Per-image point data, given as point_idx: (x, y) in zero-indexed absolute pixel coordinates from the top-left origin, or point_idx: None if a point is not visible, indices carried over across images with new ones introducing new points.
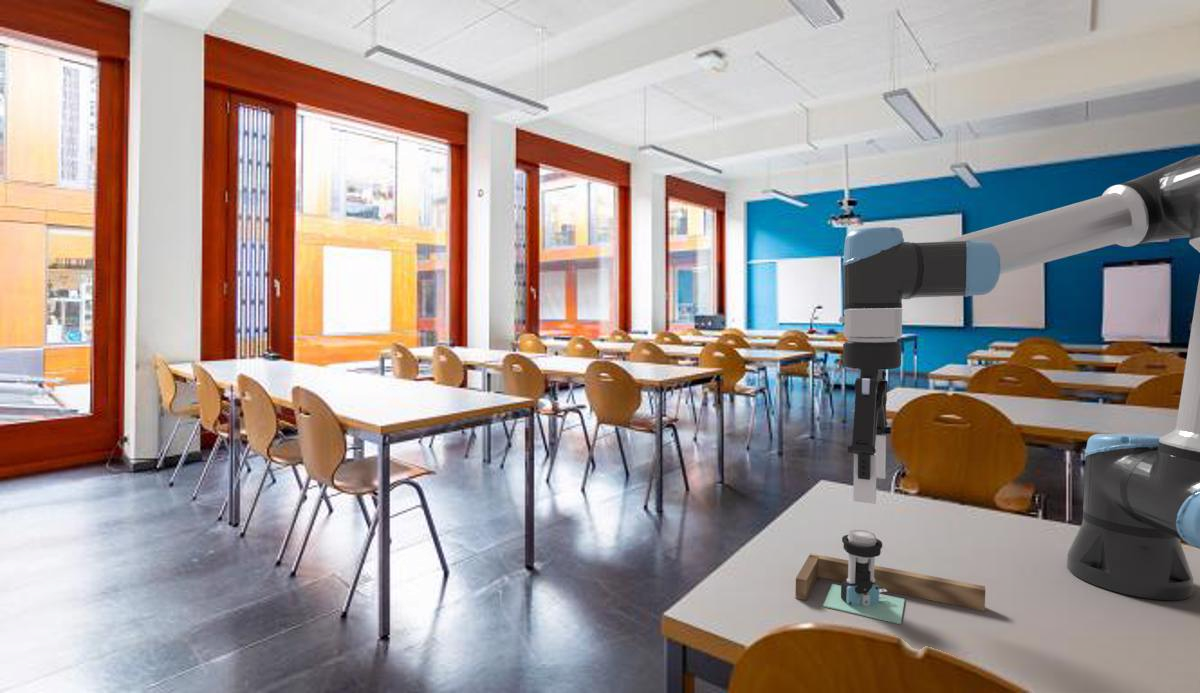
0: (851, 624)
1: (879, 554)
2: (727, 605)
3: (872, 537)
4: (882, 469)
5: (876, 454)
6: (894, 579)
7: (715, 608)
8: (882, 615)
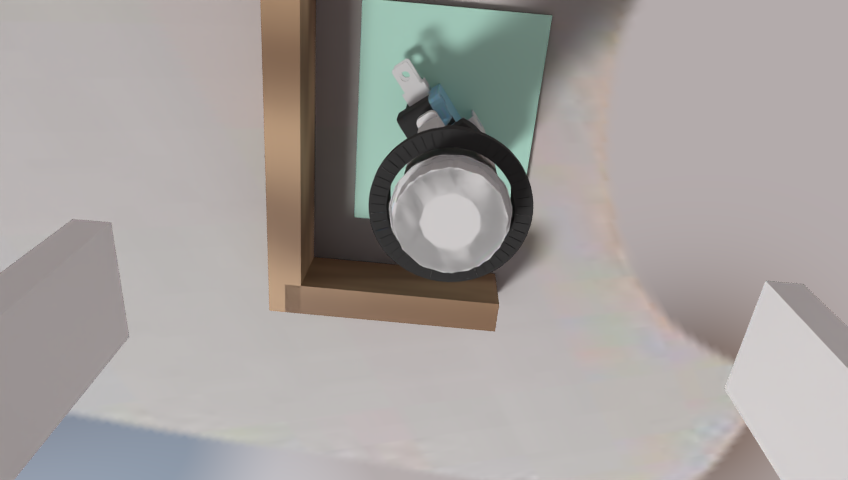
0: (599, 153)
1: (476, 129)
2: (595, 429)
3: (480, 181)
4: (77, 273)
5: (7, 393)
6: (304, 37)
7: (621, 447)
8: (521, 70)
